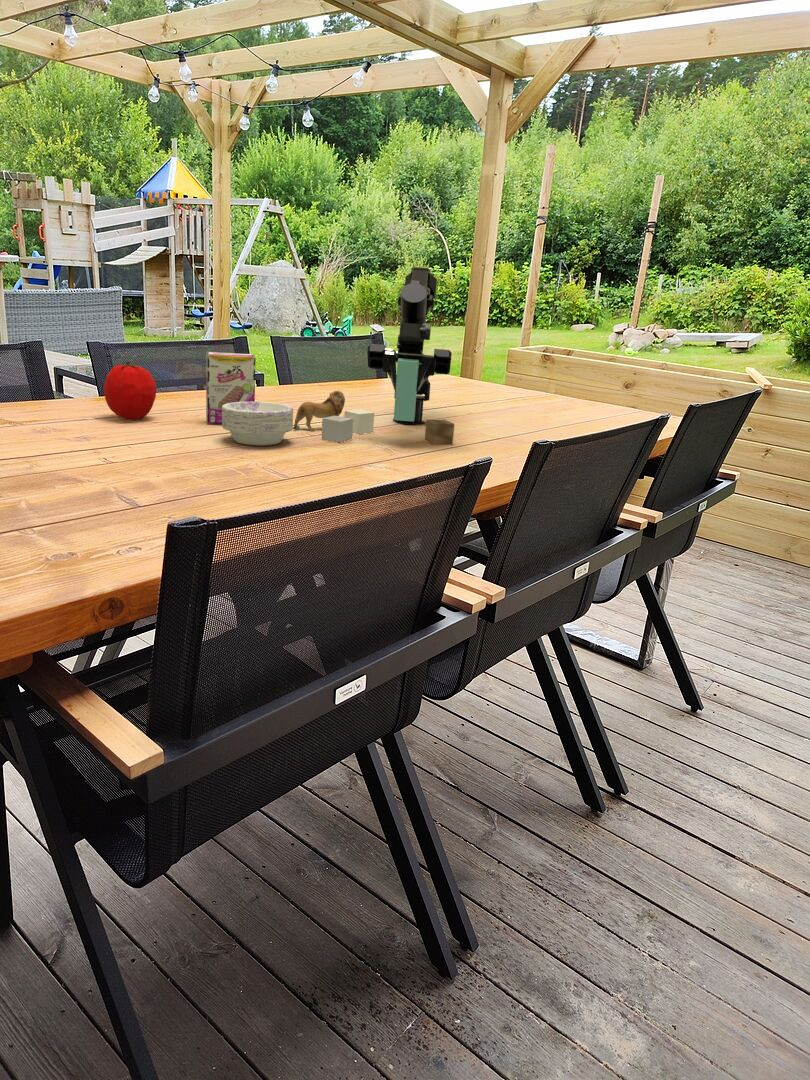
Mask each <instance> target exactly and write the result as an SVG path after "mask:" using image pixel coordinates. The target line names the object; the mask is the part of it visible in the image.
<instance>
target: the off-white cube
mask: <svg viewBox="0 0 810 1080" xmlns="http://www.w3.org/2000/svg"><path fill="white" fill-rule="evenodd" d="M344 417H346V418H351V419H353V428H352V434H353V433H356V434H355V435H357V434H361V435H365V434H364V433H368V434H372V433H371V432H373V433H374V425H375V412H373V411H368V410H365V409H361V408H359V409H358V408H357V409H350V410H344Z"/></svg>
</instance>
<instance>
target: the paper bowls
mask: <svg viewBox="0 0 810 1080" xmlns="http://www.w3.org/2000/svg"><path fill="white" fill-rule="evenodd" d="M221 427H222V429H223V430H225V431H229V433H230V434H231V437H232V439H233V441H235V442H236V443H238V444H242V445H245V446H254V447H255V446H259V447H265V446H273V445H277V444H279V443H281V442H282V441H283V439H284V437H285V434H286V433H290V432H292V431H293V430H294V429H293V427H294V408H293V406H290V405H288V404H284V403H278V402H271V401H269V402H268V401H255V402H250V401H249V402H232V403H227V404H224V405H223V406H222V424H221Z"/></svg>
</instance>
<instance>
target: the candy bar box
mask: <svg viewBox="0 0 810 1080" xmlns="http://www.w3.org/2000/svg"><path fill="white" fill-rule="evenodd" d="M205 354H206V355H205V362H206V363H205V364H206V365H205V366H206V367H205V373H206V374H205V376H206V377H205V378H206V379H205V381H206V382H205V386H206V388H205V392H206V394H205V397H206V398H205V400H206V403H205V404H206V405H205V407H206V408H205V409H206V411H205V415H206V417H205V419H206V423H207V425H222V406H223V405H224V404H227V403H232V402H249V401H250V402H256V401H255V399H256V356H255V355H254V354H252V353H236V352H235V353H233V352H215V351H206V353H205Z"/></svg>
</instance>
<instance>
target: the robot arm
mask: <svg viewBox="0 0 810 1080" xmlns="http://www.w3.org/2000/svg"><path fill="white" fill-rule="evenodd" d="M431 271H432V268H431V269H430V268H428V267H422V266H421V267H419V266H418V267H417V266H413V267H411V269H410V273H408V275H406V276H405V279H404V286H403V287H402V289H401V290H400V293H399V295H398V297H397V306H398V309H400V314H401V318H400V325H399V334H398V336H397V343H396V349H397V351H396V350H395V349H393V348H387V346H386V344H382V343H381V344H379V343H370V344H369V345H368V346H367V351H366V354H367V356H366V357H367V367H368V368H369V369H373V370H382V372H384V373H387V375H388V376H389V378H390V380H391V381H390V382H391V384H392V387H393V390H394V393H395V392H396V377H397V363H398V359H399V358H403V359H415V360H419V368H418V380H417V387H416V391H417V394H416V407H415V418H414V422H413V421H401V420H394V417H393V418H392V421H394V422H397V423H401V424H403V425H408V426H409V425H422V424H424V425H425V424H426V420H423V415H424V413H423V411H424V410H423V409H424V402H428V401H430V397H431V396H430V394H431V382H430V380H429V377H432V376H434V375H435V374H436V375H437V374H438V375H449V374H450V372H451V363H452V354H453V353H452V351H451V350H450V349H445V348H444V349H442V348H441V349H440V348H434V349H433V354H432V355H431V354H430V355H429V354H425V353H424V344H425V341H430V340H431V330H432V329H431V328H432V323H427V318H426V317H427V316H428V315H429V312H430V311H432V310H433V307H434V306H435V300H437V287H438V279H437V278H436V276H435V275H433V274H432V272H431ZM393 398H394V400H395V395H394V397H393Z"/></svg>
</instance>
